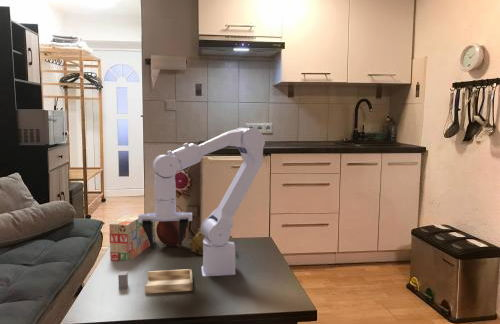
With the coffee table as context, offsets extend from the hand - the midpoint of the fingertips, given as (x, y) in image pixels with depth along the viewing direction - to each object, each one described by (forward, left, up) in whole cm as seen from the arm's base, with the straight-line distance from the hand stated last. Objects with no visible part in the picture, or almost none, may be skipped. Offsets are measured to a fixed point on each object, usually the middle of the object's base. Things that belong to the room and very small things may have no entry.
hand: (166, 246), depth 112 cm
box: (-1, +5, -9) cm, 11 cm away
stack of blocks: (+12, -26, -10) cm, 30 cm away
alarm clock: (-1, -29, -10) cm, 31 cm away
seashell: (-14, -22, -10) cm, 28 cm away
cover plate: (+11, +5, -10) cm, 16 cm away
